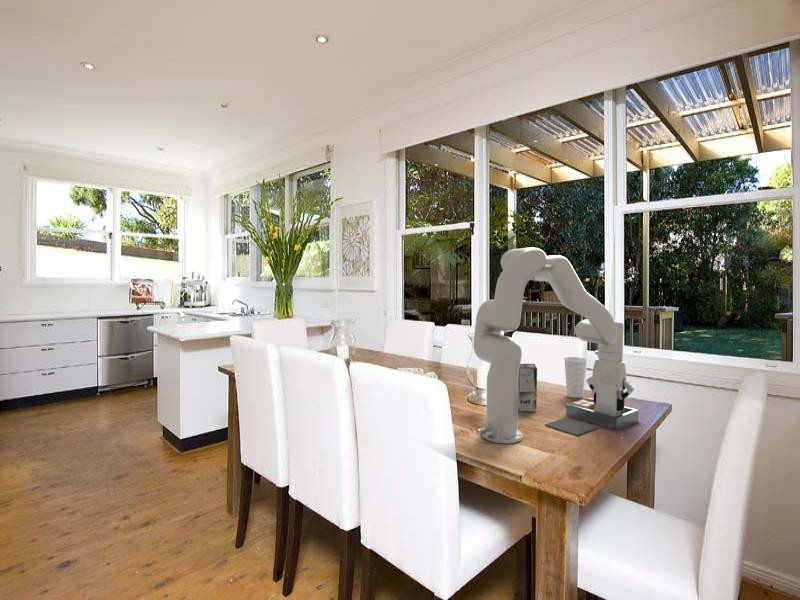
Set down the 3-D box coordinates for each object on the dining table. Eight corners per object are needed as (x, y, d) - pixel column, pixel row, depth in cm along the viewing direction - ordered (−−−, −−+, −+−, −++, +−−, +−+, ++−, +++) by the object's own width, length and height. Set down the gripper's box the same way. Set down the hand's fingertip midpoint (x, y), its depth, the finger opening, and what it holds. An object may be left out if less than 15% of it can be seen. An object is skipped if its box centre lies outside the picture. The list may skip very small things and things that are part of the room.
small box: (601, 414, 157) (602, 378, 157) (620, 418, 153) (622, 381, 153) (594, 420, 151) (596, 382, 150) (615, 424, 147) (616, 386, 146)
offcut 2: (586, 417, 156) (587, 406, 156) (580, 415, 158) (580, 404, 158) (595, 414, 159) (596, 403, 159) (589, 412, 161) (589, 401, 161)
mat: (577, 436, 138) (577, 435, 138) (544, 425, 148) (544, 424, 148) (598, 428, 145) (598, 426, 145) (566, 418, 155) (566, 417, 155)
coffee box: (537, 412, 162) (537, 368, 161) (518, 411, 163) (519, 367, 162) (534, 404, 171) (535, 363, 170) (517, 403, 172) (517, 362, 171)
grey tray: (616, 430, 143) (617, 418, 143) (566, 415, 158) (566, 404, 158) (638, 421, 151) (638, 409, 151) (588, 407, 166) (588, 397, 166)
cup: (559, 395, 183) (560, 358, 182) (570, 392, 188) (571, 356, 187) (578, 400, 176) (579, 362, 175) (589, 396, 181) (590, 359, 180)
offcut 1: (579, 415, 158) (579, 404, 158) (572, 413, 161) (572, 402, 160) (588, 412, 162) (588, 401, 162) (581, 410, 164) (582, 399, 164)
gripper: (580, 353, 156) (579, 402, 157) (630, 361, 142) (628, 415, 143) (592, 351, 160) (590, 399, 161) (641, 359, 146) (639, 411, 147)
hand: (608, 406), depth 152 cm, fingers closed on small box, 7 cm apart
